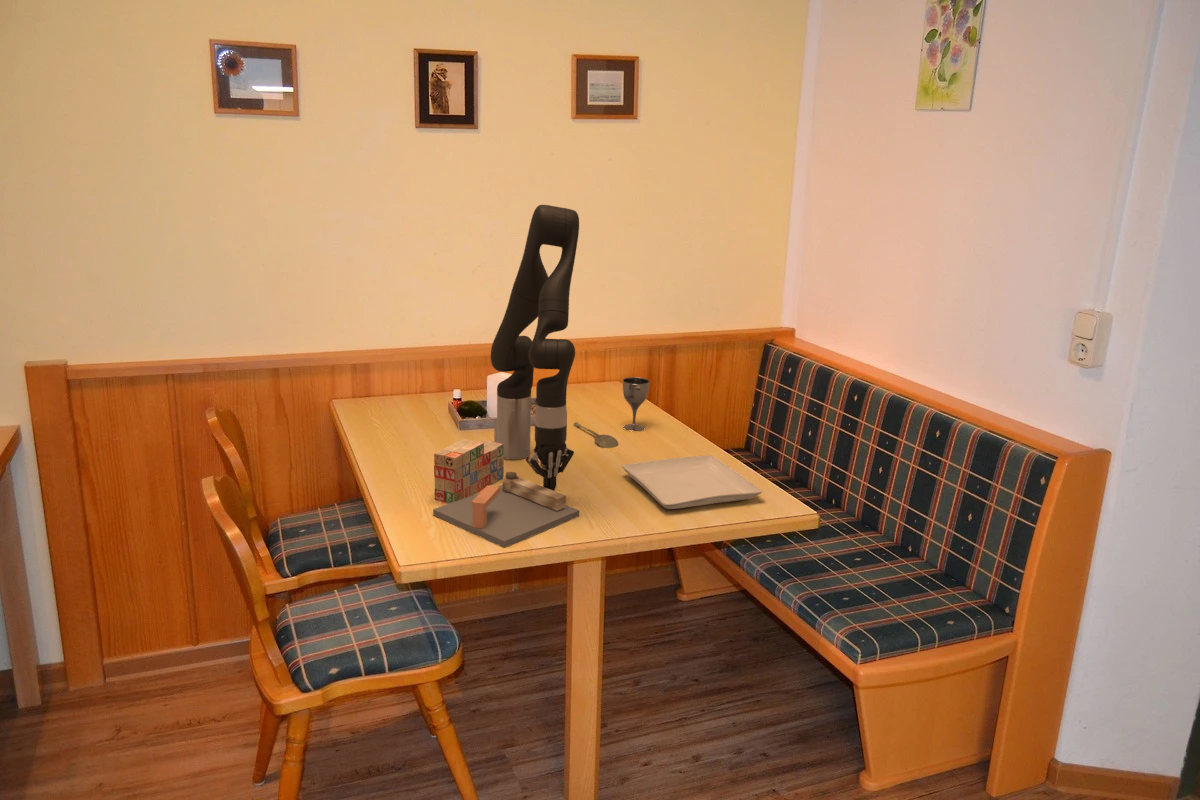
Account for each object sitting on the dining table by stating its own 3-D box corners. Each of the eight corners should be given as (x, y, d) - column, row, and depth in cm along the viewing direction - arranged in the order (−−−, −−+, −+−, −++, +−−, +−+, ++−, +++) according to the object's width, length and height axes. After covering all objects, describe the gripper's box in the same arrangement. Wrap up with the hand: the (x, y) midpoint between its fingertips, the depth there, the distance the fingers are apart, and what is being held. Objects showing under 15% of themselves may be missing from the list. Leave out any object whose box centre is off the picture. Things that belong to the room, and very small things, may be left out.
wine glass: (651, 427, 283) (654, 380, 279) (638, 433, 277) (640, 385, 272) (629, 422, 287) (631, 375, 283) (615, 428, 281) (617, 380, 277)
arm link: (499, 488, 227) (499, 473, 225) (511, 484, 229) (511, 469, 228) (555, 511, 215) (555, 495, 213) (566, 506, 218) (567, 490, 216)
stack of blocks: (483, 473, 242) (483, 428, 238) (504, 477, 239) (504, 432, 235) (434, 500, 223) (433, 452, 220) (455, 505, 221) (455, 457, 217)
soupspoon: (602, 453, 263) (621, 451, 266) (603, 442, 262) (623, 440, 265) (566, 428, 281) (585, 426, 284) (567, 417, 280) (586, 415, 283)
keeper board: (432, 515, 214) (432, 485, 212) (508, 488, 232) (508, 460, 230) (504, 547, 199) (504, 515, 197) (579, 516, 217) (580, 486, 215)
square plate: (619, 477, 243) (619, 463, 242) (711, 466, 253) (712, 453, 252) (663, 517, 219) (664, 502, 218) (763, 504, 229) (764, 489, 228)
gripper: (564, 413, 224) (562, 479, 229) (518, 422, 216) (518, 491, 221) (582, 421, 218) (581, 489, 223) (536, 431, 210) (536, 501, 215)
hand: (549, 490), depth 222 cm, fingers closed
